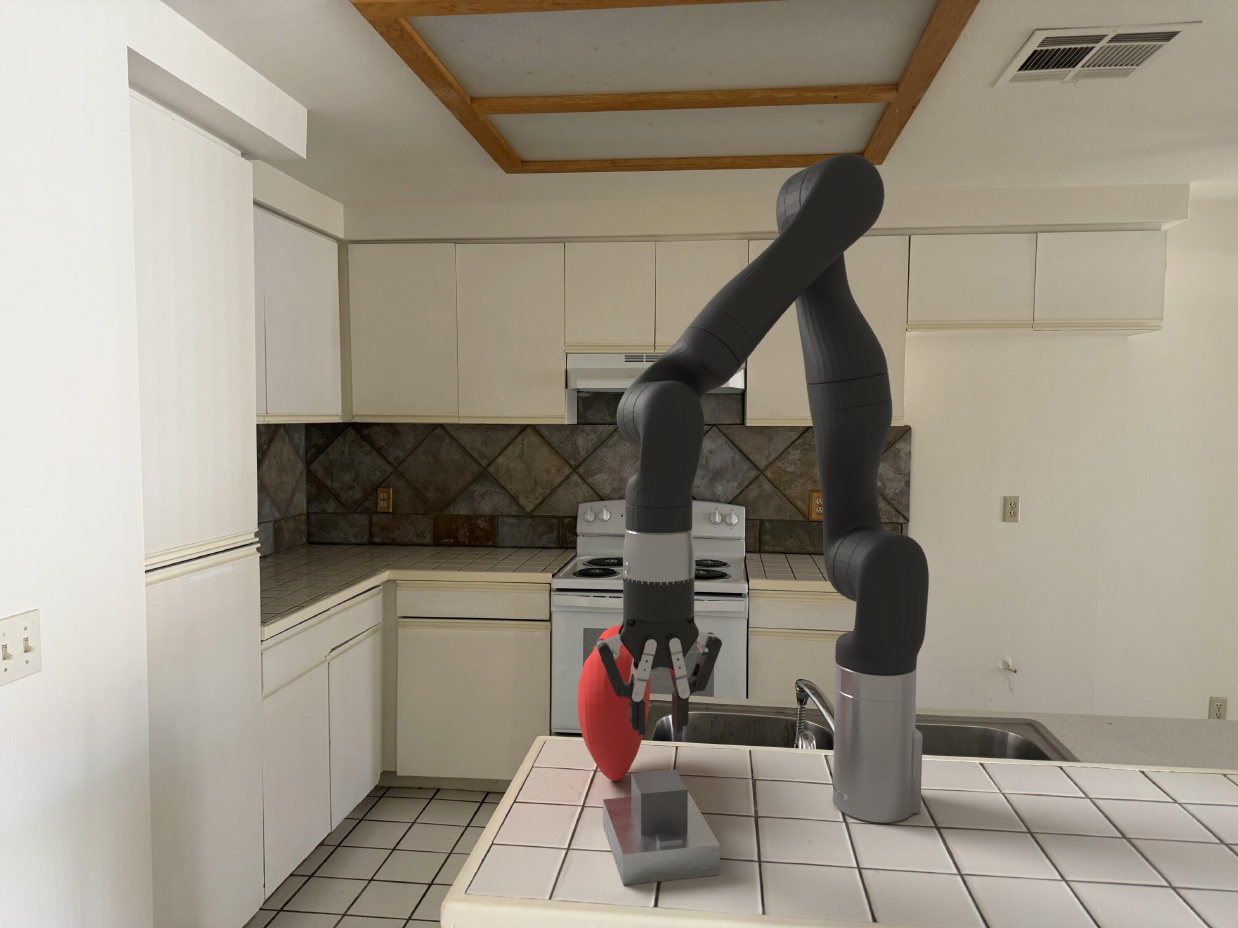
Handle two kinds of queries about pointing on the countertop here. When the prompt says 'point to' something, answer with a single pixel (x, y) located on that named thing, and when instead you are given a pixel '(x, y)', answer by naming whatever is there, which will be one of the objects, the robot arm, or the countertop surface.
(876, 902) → the countertop surface
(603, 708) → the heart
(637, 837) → the socket plate
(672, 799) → the plug
